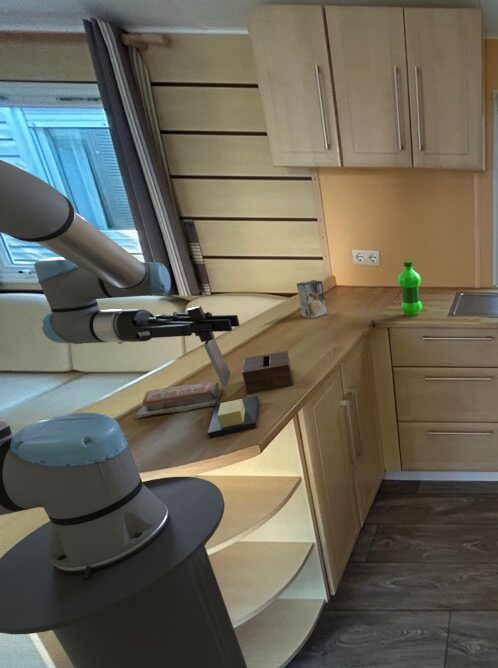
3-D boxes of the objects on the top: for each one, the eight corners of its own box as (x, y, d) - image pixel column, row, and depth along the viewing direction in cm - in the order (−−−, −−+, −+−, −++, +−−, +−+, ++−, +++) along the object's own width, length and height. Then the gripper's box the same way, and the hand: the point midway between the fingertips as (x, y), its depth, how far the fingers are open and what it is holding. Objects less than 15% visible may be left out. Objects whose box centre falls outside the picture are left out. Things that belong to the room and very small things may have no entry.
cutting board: (256, 427, 103) (255, 422, 102) (209, 438, 99) (207, 432, 98) (258, 400, 116) (257, 395, 116) (217, 408, 112) (215, 403, 111)
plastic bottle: (397, 316, 192) (392, 263, 183) (407, 310, 201) (403, 259, 192) (417, 317, 190) (413, 264, 181) (426, 311, 199) (422, 260, 190)
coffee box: (319, 311, 198) (314, 279, 192) (327, 314, 195) (322, 281, 189) (302, 316, 191) (296, 283, 185) (310, 318, 188) (304, 284, 182)
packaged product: (219, 376, 120) (211, 391, 111) (223, 391, 121) (215, 406, 113) (144, 386, 113) (129, 403, 105) (149, 402, 115) (135, 419, 106)
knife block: (292, 385, 125) (288, 364, 122) (247, 393, 120) (241, 372, 117) (291, 370, 135) (287, 351, 132) (249, 377, 130) (244, 357, 127)
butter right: (243, 423, 102) (240, 410, 101) (232, 425, 101) (228, 413, 100) (245, 410, 108) (242, 398, 107) (234, 412, 107) (231, 400, 106)
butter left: (232, 425, 101) (228, 413, 100) (220, 428, 100) (217, 415, 99) (234, 412, 107) (231, 400, 106) (223, 414, 106) (220, 402, 104)
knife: (231, 385, 98) (196, 310, 91) (219, 388, 97) (183, 313, 90) (234, 373, 105) (202, 303, 97) (224, 376, 104) (191, 305, 96)
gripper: (156, 329, 103) (253, 327, 105) (105, 353, 88) (219, 350, 90) (147, 301, 100) (246, 299, 102) (93, 320, 85) (211, 317, 87)
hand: (233, 323), depth 96 cm, fingers closed on knife, 3 cm apart
